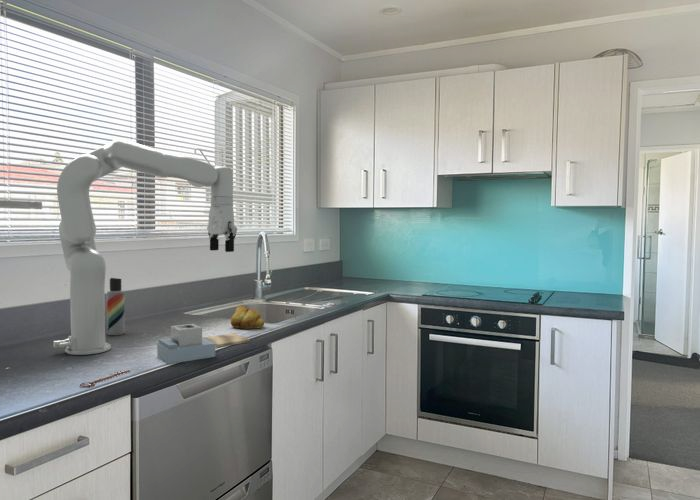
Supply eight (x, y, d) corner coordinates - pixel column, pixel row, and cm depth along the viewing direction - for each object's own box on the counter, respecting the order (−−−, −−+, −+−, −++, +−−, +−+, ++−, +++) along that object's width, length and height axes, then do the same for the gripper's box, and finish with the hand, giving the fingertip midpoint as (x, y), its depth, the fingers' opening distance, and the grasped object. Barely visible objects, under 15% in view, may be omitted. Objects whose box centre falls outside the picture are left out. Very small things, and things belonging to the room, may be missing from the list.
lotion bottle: (104, 333, 188) (103, 277, 187) (120, 331, 192) (120, 276, 191) (111, 336, 184) (110, 278, 183) (127, 333, 188) (127, 277, 187)
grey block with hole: (178, 347, 153) (178, 330, 153) (170, 342, 159) (170, 326, 159) (202, 344, 158) (202, 327, 157) (193, 339, 163) (193, 323, 163)
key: (118, 372, 144) (70, 387, 130) (118, 369, 144) (70, 383, 130) (134, 373, 142) (87, 389, 128) (134, 370, 142) (87, 385, 128)
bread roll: (268, 327, 204) (268, 306, 203) (255, 331, 195) (255, 310, 194) (239, 324, 208) (240, 304, 208) (225, 328, 199) (225, 307, 199)
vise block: (168, 363, 150) (168, 334, 150) (157, 356, 158) (157, 328, 158) (215, 356, 159) (215, 328, 158) (202, 349, 167) (202, 323, 166)
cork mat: (216, 347, 171) (216, 344, 171) (201, 340, 180) (201, 337, 180) (249, 342, 178) (249, 339, 178) (234, 335, 187) (234, 333, 187)
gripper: (199, 202, 189) (199, 250, 190) (226, 201, 177) (226, 252, 178) (217, 202, 194) (217, 249, 196) (245, 202, 183) (244, 252, 184)
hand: (221, 250), depth 187 cm, fingers open, 9 cm apart
